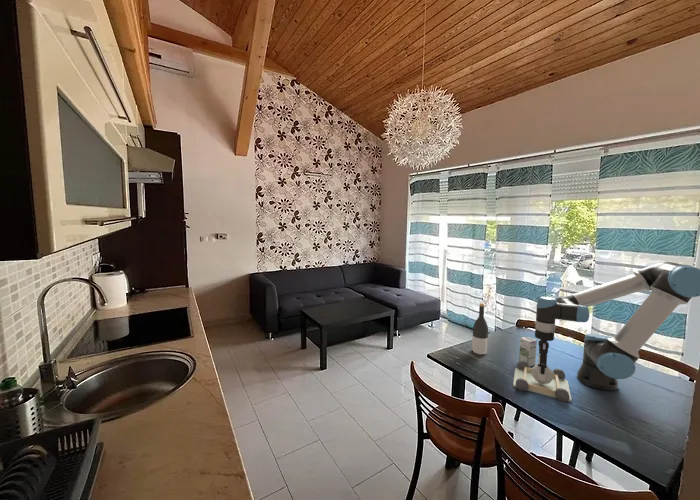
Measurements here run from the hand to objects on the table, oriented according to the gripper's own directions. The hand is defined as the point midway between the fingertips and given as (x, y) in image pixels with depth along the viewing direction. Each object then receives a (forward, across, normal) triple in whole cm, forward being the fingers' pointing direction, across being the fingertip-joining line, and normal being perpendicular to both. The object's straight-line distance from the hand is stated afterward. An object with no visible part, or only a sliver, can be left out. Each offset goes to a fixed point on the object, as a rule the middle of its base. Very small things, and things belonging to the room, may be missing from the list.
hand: (541, 373), depth 141 cm
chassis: (+5, 0, 0) cm, 5 cm away
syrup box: (+5, -20, -6) cm, 22 cm away
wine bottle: (+5, -20, -30) cm, 36 cm away
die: (+4, +2, 0) cm, 5 cm away
